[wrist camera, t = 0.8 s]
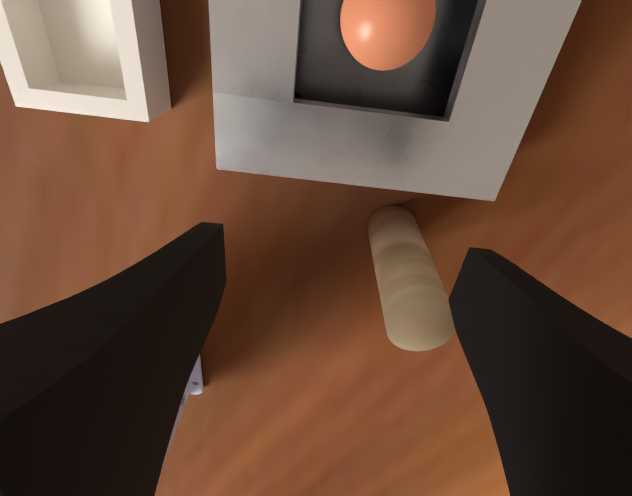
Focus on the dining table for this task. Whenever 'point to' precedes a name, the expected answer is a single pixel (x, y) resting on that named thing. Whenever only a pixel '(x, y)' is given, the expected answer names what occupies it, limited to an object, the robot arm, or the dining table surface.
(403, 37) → the button
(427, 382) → the dining table surface
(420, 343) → the tan cylinder
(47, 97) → the holder
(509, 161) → the grey square frame block
